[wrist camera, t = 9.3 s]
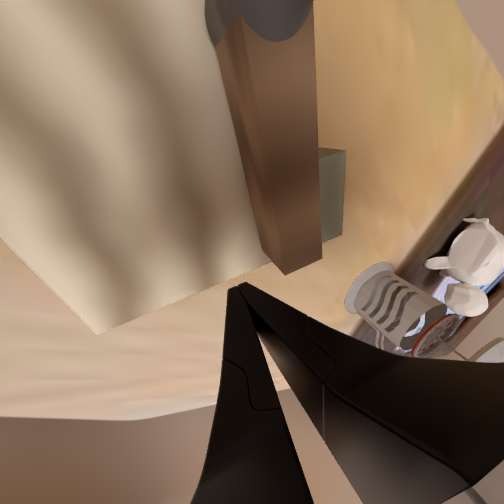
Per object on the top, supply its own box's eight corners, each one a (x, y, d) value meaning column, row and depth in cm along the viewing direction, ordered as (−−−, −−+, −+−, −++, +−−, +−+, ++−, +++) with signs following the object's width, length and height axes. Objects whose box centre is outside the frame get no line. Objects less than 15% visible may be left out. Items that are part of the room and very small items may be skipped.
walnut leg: (193, -29, 10) (213, -109, 6) (264, -37, 10) (313, -113, 7) (260, 251, 18) (282, 276, 15) (295, 236, 19) (324, 257, 16)
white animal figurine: (435, 215, 36) (414, 301, 36) (513, 213, 29) (488, 321, 28) (451, 231, 41) (432, 307, 40) (522, 232, 33) (500, 325, 33)
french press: (403, 272, 35) (750, 467, 15) (358, 325, 37) (598, 552, 17) (375, 253, 29) (863, 520, 9) (326, 316, 32) (618, 630, 12)
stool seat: (101, 317, 18) (83, 383, 14) (-161, 27, 8) (-581, -112, 4) (300, 236, 23) (340, 265, 18) (280, -18, 13) (357, -108, 8)
